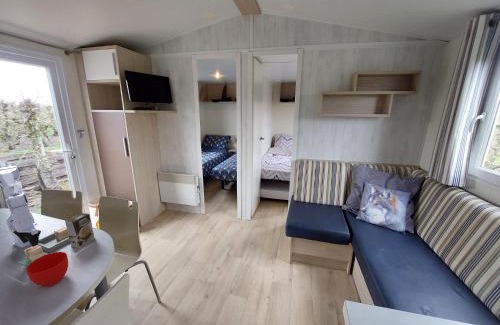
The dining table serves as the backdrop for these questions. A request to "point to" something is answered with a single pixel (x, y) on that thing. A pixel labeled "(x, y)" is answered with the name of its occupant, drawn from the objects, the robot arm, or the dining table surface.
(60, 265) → the red mixing bowl
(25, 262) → the teal mat
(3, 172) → the robot arm
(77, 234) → the coffee box
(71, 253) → the dining table surface
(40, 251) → the labelled block
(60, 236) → the plain block
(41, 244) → the parts bin
